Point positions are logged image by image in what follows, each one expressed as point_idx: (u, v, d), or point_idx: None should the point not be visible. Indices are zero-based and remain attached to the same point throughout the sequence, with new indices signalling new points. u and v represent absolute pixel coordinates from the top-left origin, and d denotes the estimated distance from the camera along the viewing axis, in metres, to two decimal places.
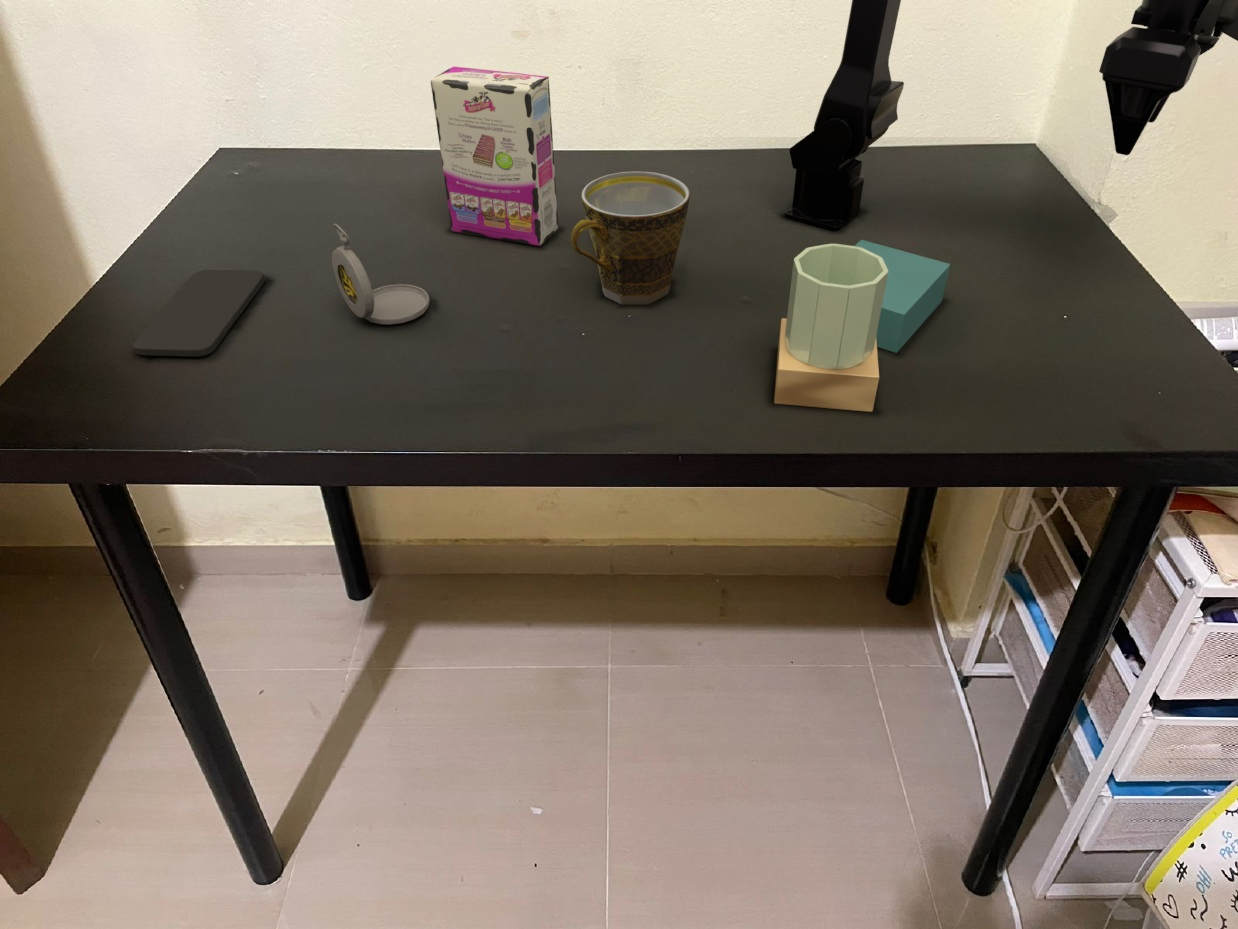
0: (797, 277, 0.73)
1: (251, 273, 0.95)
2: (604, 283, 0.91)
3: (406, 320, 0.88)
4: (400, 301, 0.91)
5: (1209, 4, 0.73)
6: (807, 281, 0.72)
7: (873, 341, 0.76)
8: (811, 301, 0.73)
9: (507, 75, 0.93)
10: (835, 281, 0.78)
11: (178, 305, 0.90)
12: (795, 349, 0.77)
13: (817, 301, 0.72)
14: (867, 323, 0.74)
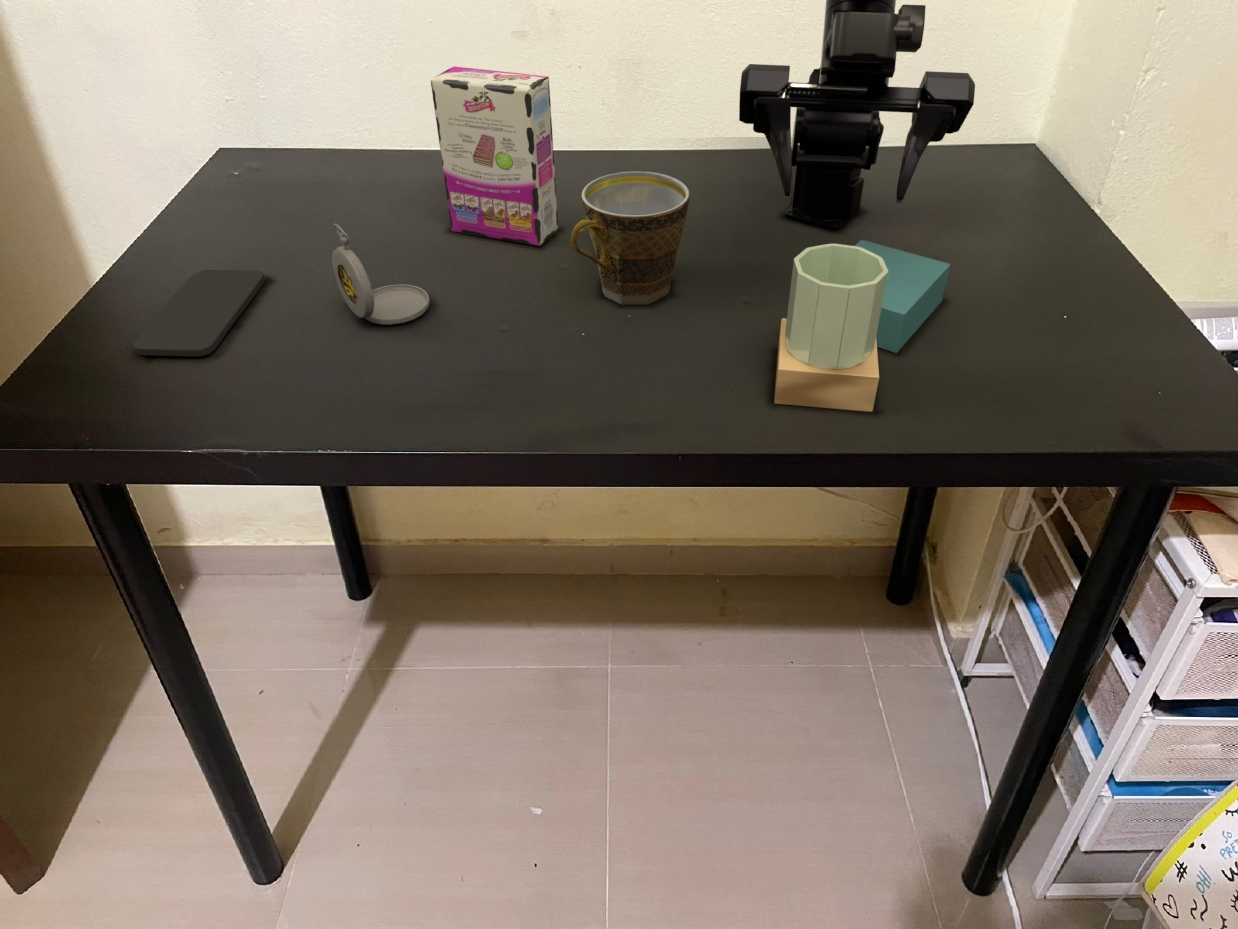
0: (797, 277, 0.73)
1: (251, 273, 0.95)
2: (604, 283, 0.91)
3: (406, 320, 0.88)
4: (400, 301, 0.91)
5: (823, 46, 0.77)
6: (807, 281, 0.72)
7: (873, 341, 0.76)
8: (811, 301, 0.73)
9: (507, 75, 0.93)
10: (835, 281, 0.78)
11: (178, 305, 0.90)
12: (795, 349, 0.77)
13: (817, 301, 0.72)
14: (867, 323, 0.74)
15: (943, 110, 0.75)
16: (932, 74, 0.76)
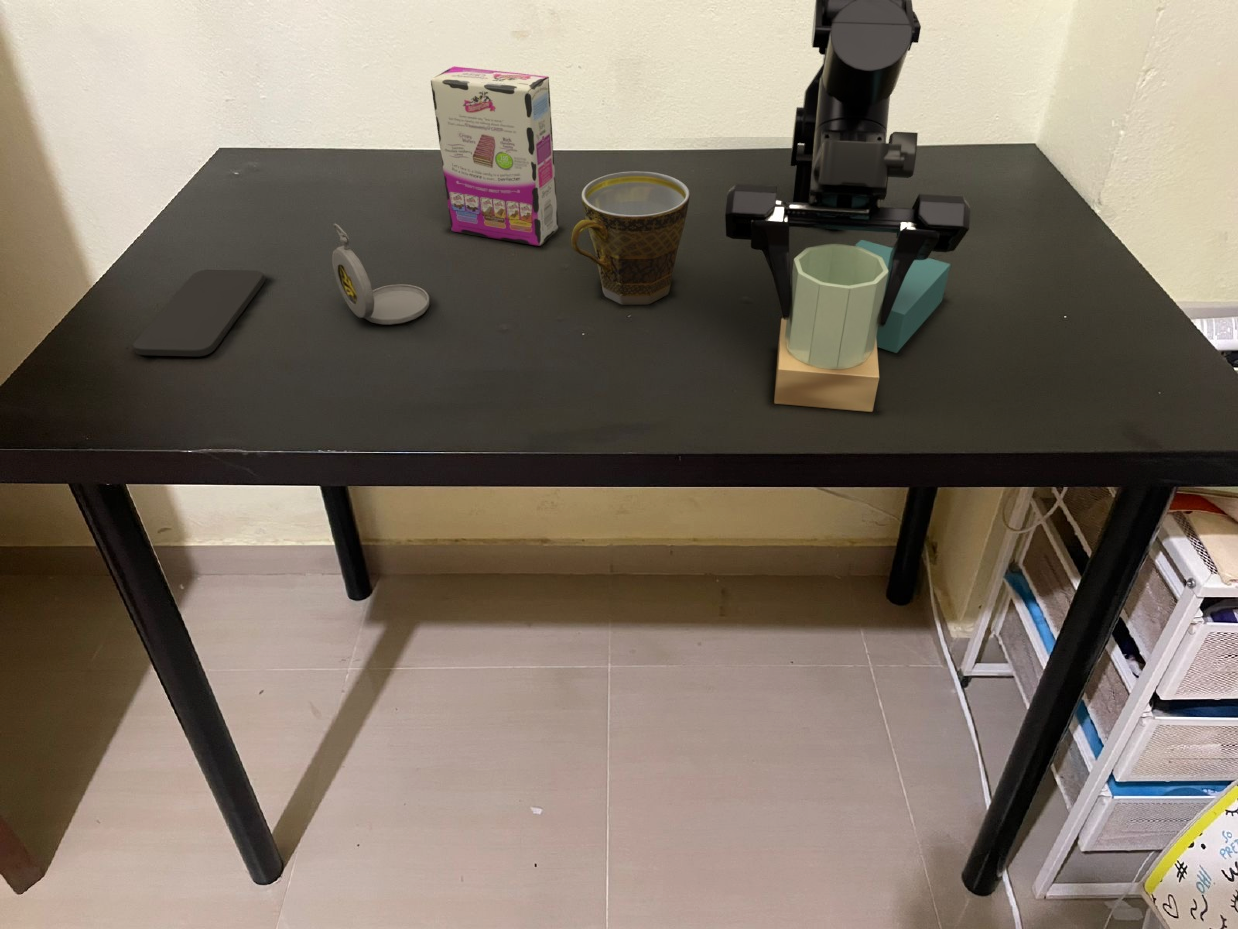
0: (797, 277, 0.73)
1: (251, 273, 0.95)
2: (604, 283, 0.91)
3: (406, 320, 0.88)
4: (400, 301, 0.91)
5: (812, 166, 0.74)
6: (807, 281, 0.72)
7: (873, 341, 0.76)
8: (811, 301, 0.73)
9: (507, 75, 0.93)
10: (835, 281, 0.78)
11: (178, 305, 0.90)
12: (795, 349, 0.77)
13: (817, 301, 0.72)
14: (867, 323, 0.74)
15: (926, 235, 0.72)
16: (926, 198, 0.73)
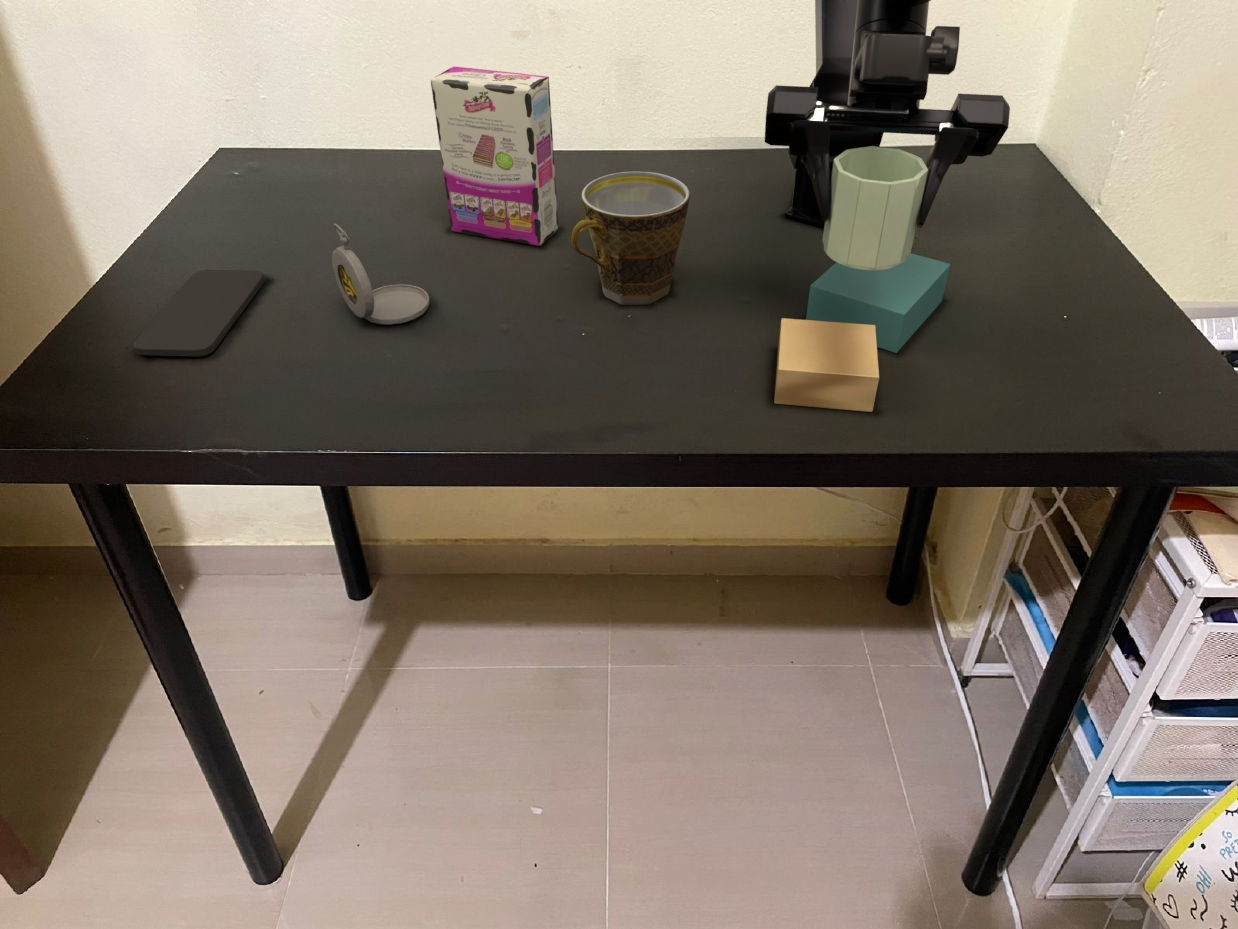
0: (837, 176, 0.74)
1: (251, 273, 0.95)
2: (604, 283, 0.91)
3: (406, 320, 0.88)
4: (400, 301, 0.91)
5: (852, 67, 0.75)
6: (848, 179, 0.73)
7: (911, 243, 0.77)
8: (851, 199, 0.74)
9: (507, 75, 0.93)
10: None
11: (178, 305, 0.90)
12: (833, 251, 0.78)
13: (857, 199, 0.73)
14: (906, 222, 0.74)
15: (966, 133, 0.73)
16: (966, 97, 0.73)
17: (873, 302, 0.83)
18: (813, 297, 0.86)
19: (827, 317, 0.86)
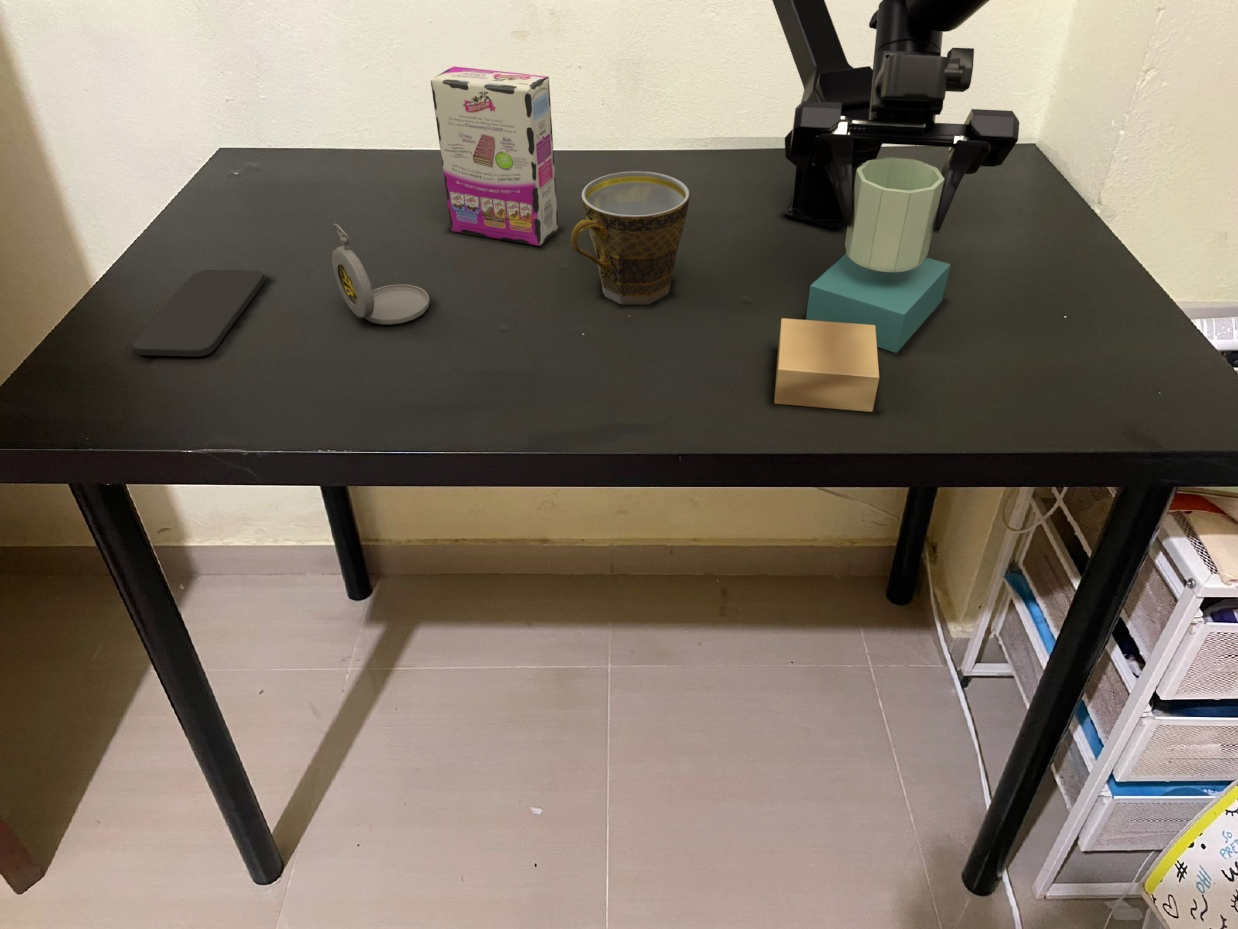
0: (860, 185, 0.80)
1: (251, 273, 0.95)
2: (604, 283, 0.91)
3: (406, 320, 0.88)
4: (400, 301, 0.91)
5: (873, 85, 0.81)
6: (870, 187, 0.79)
7: (927, 247, 0.83)
8: (873, 206, 0.80)
9: (507, 75, 0.93)
10: None
11: (178, 305, 0.90)
12: (856, 254, 0.84)
13: (879, 206, 0.79)
14: (924, 227, 0.81)
15: (979, 146, 0.79)
16: (978, 112, 0.80)
17: (873, 302, 0.83)
18: (813, 297, 0.86)
19: (827, 317, 0.86)
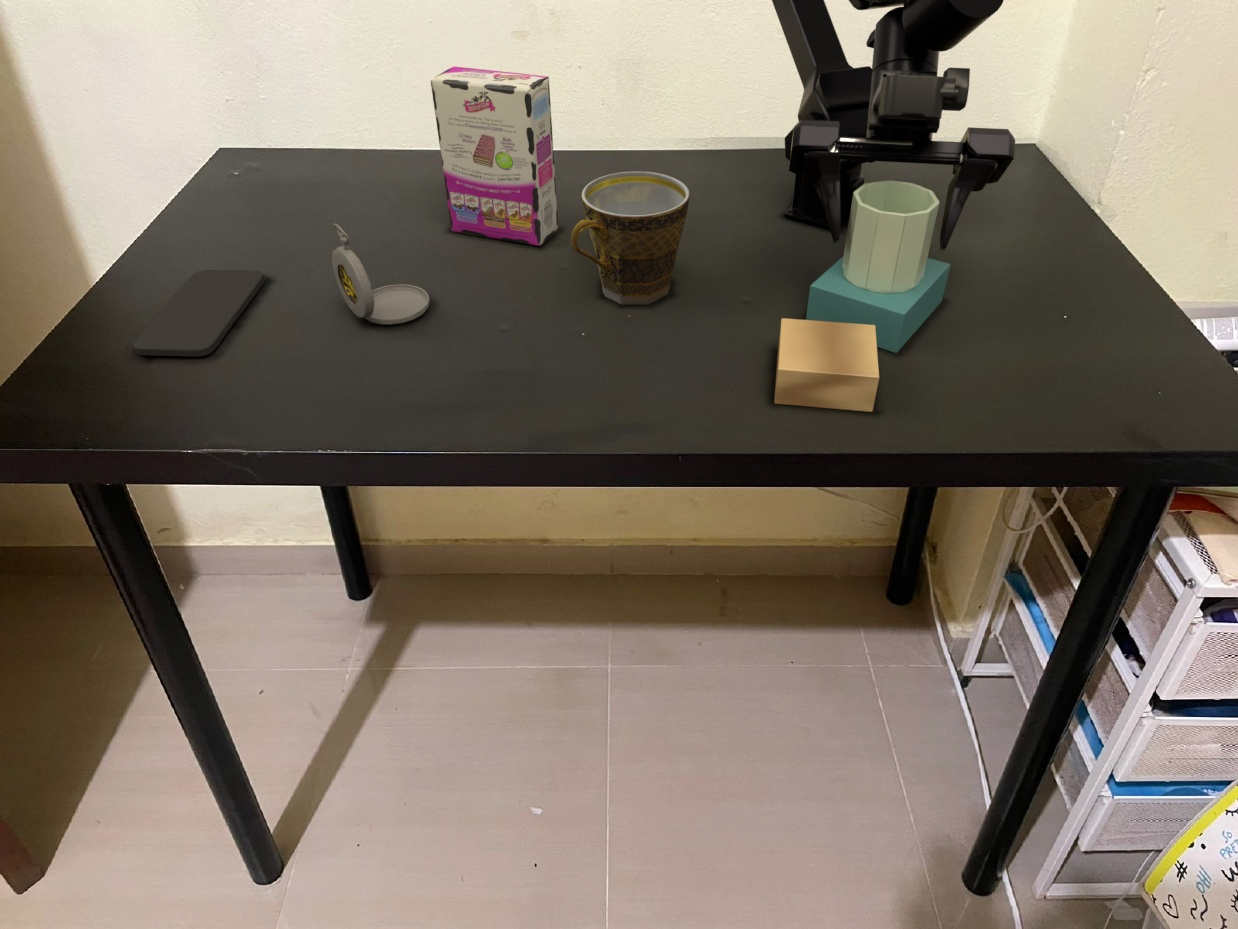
0: (857, 208, 0.81)
1: (251, 273, 0.95)
2: (604, 283, 0.91)
3: (406, 320, 0.88)
4: (400, 301, 0.91)
5: None
6: (867, 210, 0.81)
7: (923, 268, 0.85)
8: (869, 229, 0.81)
9: (507, 75, 0.93)
10: None
11: (178, 305, 0.90)
12: (853, 275, 0.85)
13: (875, 228, 0.81)
14: (920, 249, 0.82)
15: (985, 164, 0.80)
16: (975, 131, 0.80)
17: (873, 302, 0.83)
18: (813, 297, 0.86)
19: (827, 317, 0.86)
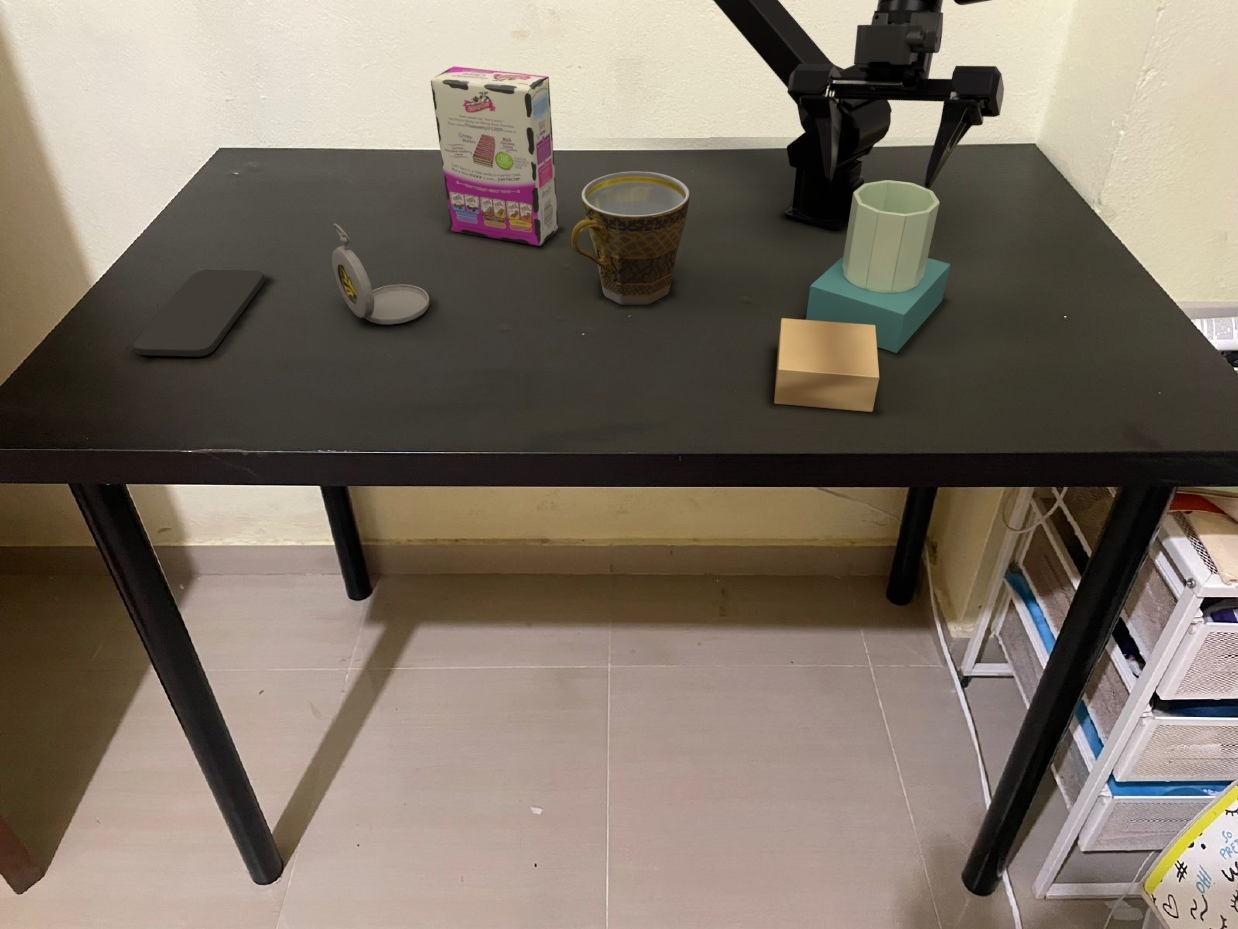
0: (857, 208, 0.81)
1: (251, 273, 0.95)
2: (604, 283, 0.91)
3: (406, 320, 0.88)
4: (400, 301, 0.91)
5: None
6: (867, 210, 0.81)
7: (923, 268, 0.85)
8: (869, 229, 0.81)
9: (507, 75, 0.93)
10: None
11: (178, 305, 0.90)
12: (853, 275, 0.85)
13: (875, 228, 0.81)
14: (920, 249, 0.82)
15: (965, 104, 0.82)
16: (959, 70, 0.82)
17: (873, 302, 0.83)
18: (813, 297, 0.86)
19: (827, 317, 0.86)
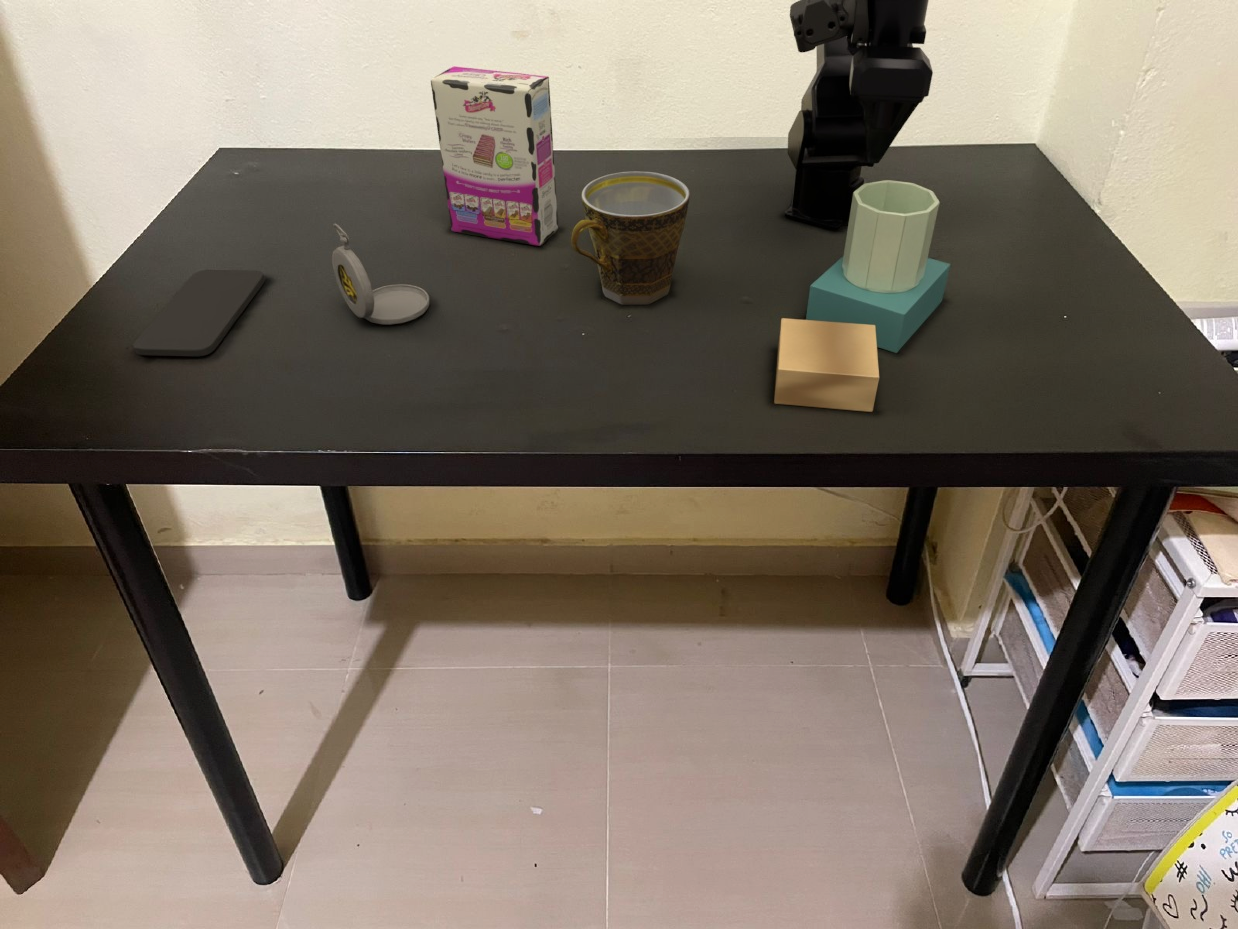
0: (857, 208, 0.81)
1: (251, 273, 0.95)
2: (604, 283, 0.91)
3: (406, 320, 0.88)
4: (400, 301, 0.91)
5: None
6: (867, 210, 0.81)
7: (923, 268, 0.85)
8: (869, 229, 0.81)
9: (507, 75, 0.93)
10: None
11: (178, 305, 0.90)
12: (853, 275, 0.85)
13: (875, 228, 0.81)
14: (920, 249, 0.82)
15: None
16: (856, 54, 0.77)
17: (873, 302, 0.83)
18: (813, 297, 0.86)
19: (827, 317, 0.86)
